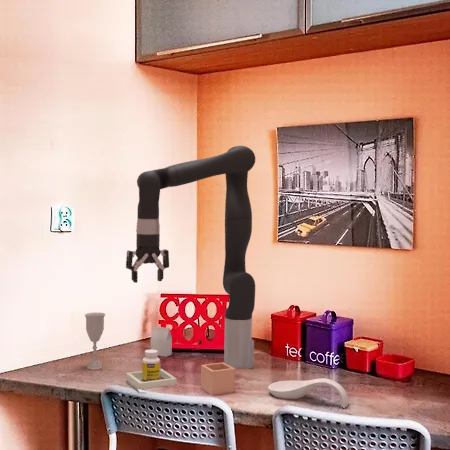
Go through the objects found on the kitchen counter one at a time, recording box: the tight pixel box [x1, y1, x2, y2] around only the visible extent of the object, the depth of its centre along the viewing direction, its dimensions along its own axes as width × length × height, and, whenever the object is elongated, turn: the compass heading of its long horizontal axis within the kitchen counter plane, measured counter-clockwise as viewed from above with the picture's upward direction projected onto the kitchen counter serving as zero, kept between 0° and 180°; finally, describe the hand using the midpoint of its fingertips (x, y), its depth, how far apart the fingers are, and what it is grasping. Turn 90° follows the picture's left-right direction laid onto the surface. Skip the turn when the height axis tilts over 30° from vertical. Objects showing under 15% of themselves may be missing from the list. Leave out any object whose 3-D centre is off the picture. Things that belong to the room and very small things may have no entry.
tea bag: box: [150, 325, 173, 358], centre depth 247 cm, size 4×7×10 cm, turn 62°
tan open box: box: [200, 361, 236, 396], centre depth 203 cm, size 8×8×8 cm
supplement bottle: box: [141, 349, 161, 382], centre depth 210 cm, size 5×5×10 cm
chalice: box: [84, 312, 106, 370], centre depth 228 cm, size 7×7×18 cm
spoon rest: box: [267, 377, 350, 409], centre depth 198 cm, size 24×12×7 cm, turn 66°
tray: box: [125, 368, 178, 390], centre depth 210 cm, size 12×12×3 cm
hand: (147, 281), depth 223 cm, fingers open, 8 cm apart
